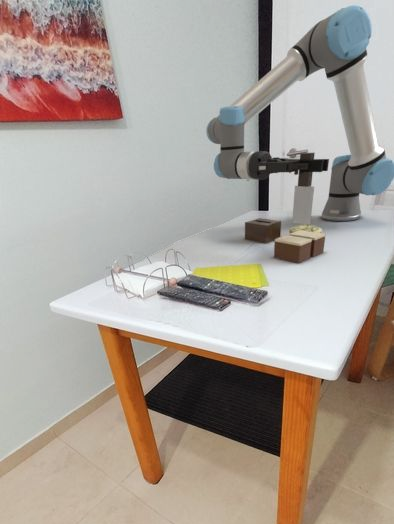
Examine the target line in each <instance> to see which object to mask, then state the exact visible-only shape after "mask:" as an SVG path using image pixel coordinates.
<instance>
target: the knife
mask: <svg viewBox="0 0 394 524" xmlns="http://www.w3.org/2000/svg"><path fill="white" fill-rule="evenodd" d="M315 153H316V152H301V153H300V154H299V159H300V160H314V159H315V155H316V154H315ZM313 173H314V172H299V171H298V178H297V185H294V193H293V207H292V219H291V223H292V224H298V225H311V221H312V211H313V202H314V193H315V186H312V182H313Z"/></svg>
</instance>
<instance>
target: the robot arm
mask: <svg viewBox="0 0 394 524" xmlns="http://www.w3.org/2000/svg"><path fill="white" fill-rule="evenodd" d="M372 25H373V24H372V20H371V17H370V15H369V13H368V12H367V10H366V9H365V8H363V7H362V6H360V5H356V4H355V5H349V6H346V7H342V8H340V9H338V10H336V11H335V12H334V13H332V14H330V15H329V16H327V17H326V18H324V19H322V20H319V21H318V22H317V23H315V24H314V26H312V27H311V28H310V29H309V30H308V31H307V32H306V33H305V34H304V35H303V36H302V37H301V38H300V39H299V40H298V41H297V42H296V43H295V44H294V45H293V46H292V47H290V49H289V50H288V51H287V53H286V57H285V58H284V59H282V60H281V61H280V62H279V63H278V64H276V66H274V67H273V68H272V69H271V70H269V71H268V72H267V73H266V74H265V75H264V76H262V77H261V78H260V79H259V80H258V81H257V82H255V83H254V85H252V86H251V87H250V88H249V89H248V90H246V91H245V92H244V93H243V94H242V95H241V96H239V97H238V98H237V99H236V100H235V101H234V102H233V103H231V104H230V105H229V106H224V107H223V106H222V107H221V108H220V109H219V115H217V116H216V117H213V118H212V119H211V120H210V121H209V122H208V123H207V125H206V130H205V133H206V137H207V139H208V141H210V142H211V143H213V144H215V145H220V149H219V150H220V151H219V153H218V154H217V155H216V156H215V158H214V161H213V170H214V173H215V175H216V176H218V177H219V178H222V179H227V180H246V182H250V180H256V181H257V180H262V181H263V180H266V179H268V177H269V176H270V175H271V174H279V173H289V174H290V173H294V174H293V176H297V175H298V176H299V172H313V173H323V172H328V170H329V163H330V158H314V160H300V158H288V157H278V156H277V157H272V154H270V152H269V151H266V150H260V151H259V150H257V151H256V150H254V151H250V150H249V151H245V125H247V124H248V123H249V122H250V121H251V120H252V119H254V118H255V117H256V116H258V114H260V113H261V112H262V111H263V110H265V109H266V108H267V107H268V106H269V105H270V104H271V103H273V102H274V101H275V100H276V99H277V98H279V97H280V96H281V95H283V93H285V92H286V91H287V90H288V89H289V88H291V87H292V86H293V85H294V84H296V82H302V81H304V80H305V79H307V78H308V77H309V76H311V75H312V74H314V73H316V72H318V71H320V70H323V69H324V72H325V76H326V79H327V80H329V81H331V82H332V83H333V85H334V89H335V93H336V98H337V103H338V106H339V111H340V115H341V119H342V124H343V127H344V132H345V136H346V140H347V144H348V148H349V153H350V154H344V155H339V156H336V157H335V158H334V159H333V161H332V164H331V168H330V170H331V173H330V181H329V189H328V196H327V197H328V198H327V200H326V203H325V205H324V208H323V210H322V213H321V219H322V220H325V221H329V222H330V221H331V222H350V221H356V220H359V219H360V218H361V215H362V210H361V203H360V195H365V196H378V195H380V194H383V193H384V192H385V191H386V190H387V189H388V188H389V187H390V186H391V184H392V182H393V181H394V161H393V159H391V158H387V155H386V151H385V146H382V145H380V144H379V142H378V141H379V140H378V136H377V130H376V126H375V125H376V124H375V121H374V114H373V110H372V109H373V108H372V105H371V99H370V93H369V88H368V83H367V78H366V77H367V76H366V73H365V67H364V64H365V62H366V60H367V58H368V49H367V48H368V46H369V44H370V39H371V37H372V32H373V26H372Z"/></svg>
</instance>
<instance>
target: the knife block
mask: <svg viewBox="0 0 394 524" xmlns="http://www.w3.org/2000/svg"><path fill="white" fill-rule="evenodd" d="M281 231H282V220H277V219H269V218H262V217H261V218H260V217H258V218H254V219H251V220H248V221H245V222H244V240H247V241H252V242H256V243H257V242H258V243H261V244H262V243H263V244H269V243H271V242H275V239H277V238H279V237H281V235H282V233H281Z"/></svg>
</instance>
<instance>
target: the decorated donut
mask: <svg viewBox="0 0 394 524" xmlns="http://www.w3.org/2000/svg"><path fill="white" fill-rule="evenodd" d="M299 230H303V231H309V232H316V233H322V232H323V229H322V228H321V227H319V226H316V225H312V224H310V225H306V224H298V225H294V226H292V227H291V228H290V229H289V231H288V232H289V234H291V233H293V232H296V231H299Z"/></svg>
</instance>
